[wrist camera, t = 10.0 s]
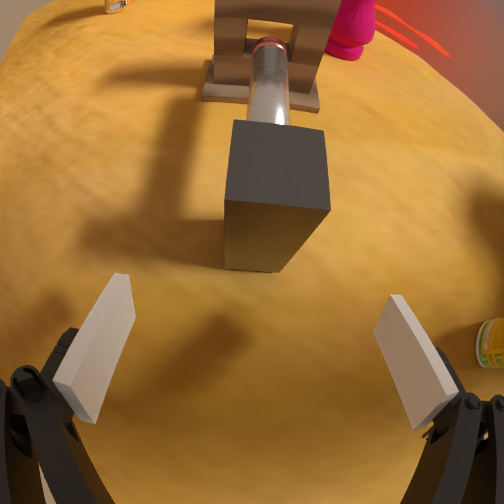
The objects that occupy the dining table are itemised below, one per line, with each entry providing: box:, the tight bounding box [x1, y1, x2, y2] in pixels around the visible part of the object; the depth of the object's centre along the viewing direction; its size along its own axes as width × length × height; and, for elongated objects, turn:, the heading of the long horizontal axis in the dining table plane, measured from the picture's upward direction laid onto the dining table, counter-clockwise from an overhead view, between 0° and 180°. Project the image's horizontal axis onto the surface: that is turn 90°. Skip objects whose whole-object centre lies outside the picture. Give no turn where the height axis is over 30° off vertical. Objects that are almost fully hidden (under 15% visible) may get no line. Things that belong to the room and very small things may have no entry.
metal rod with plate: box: [224, 37, 331, 273], centre depth 18 cm, size 18×4×11 cm, turn 177°
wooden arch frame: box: [202, 0, 341, 113], centre depth 21 cm, size 8×12×13 cm, turn 87°
